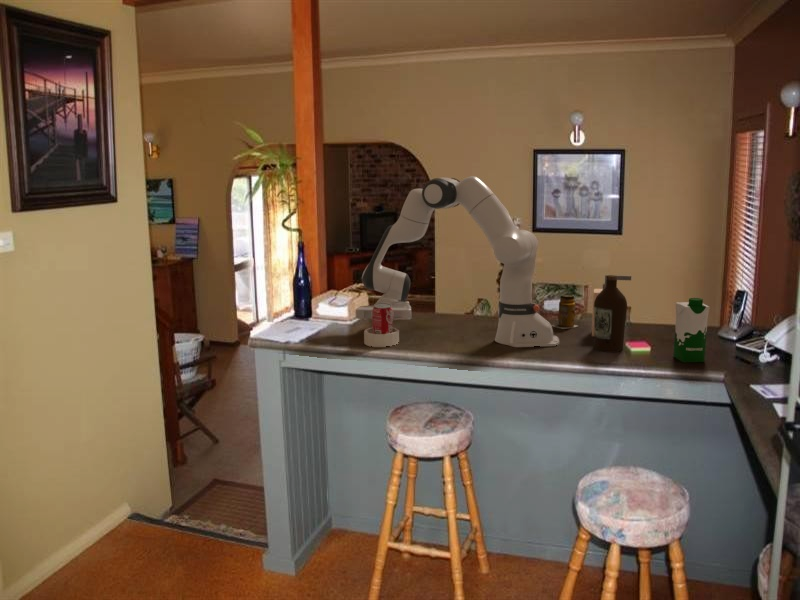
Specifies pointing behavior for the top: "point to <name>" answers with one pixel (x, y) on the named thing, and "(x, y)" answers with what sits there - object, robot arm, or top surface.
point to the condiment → (566, 312)
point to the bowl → (381, 338)
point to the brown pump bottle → (609, 317)
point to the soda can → (382, 318)
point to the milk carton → (691, 330)
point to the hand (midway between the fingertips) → (380, 317)
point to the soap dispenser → (597, 291)
